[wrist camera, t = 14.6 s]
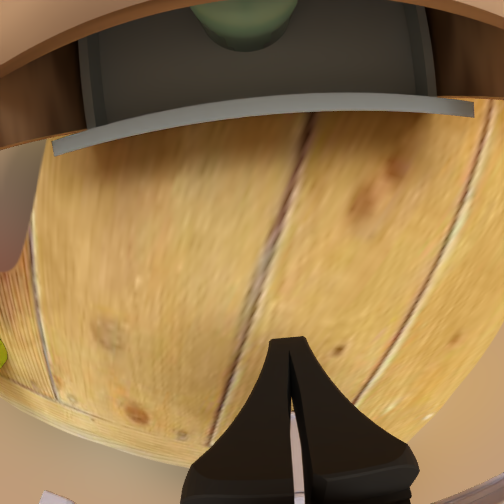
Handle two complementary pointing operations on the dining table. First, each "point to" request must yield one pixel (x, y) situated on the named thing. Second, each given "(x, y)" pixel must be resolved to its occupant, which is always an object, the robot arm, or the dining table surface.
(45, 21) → the wooden drawer box
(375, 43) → the drawer tray
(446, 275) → the dining table surface
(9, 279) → the dining table surface
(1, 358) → the soap dispenser
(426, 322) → the dining table surface
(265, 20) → the sea green cylinder
